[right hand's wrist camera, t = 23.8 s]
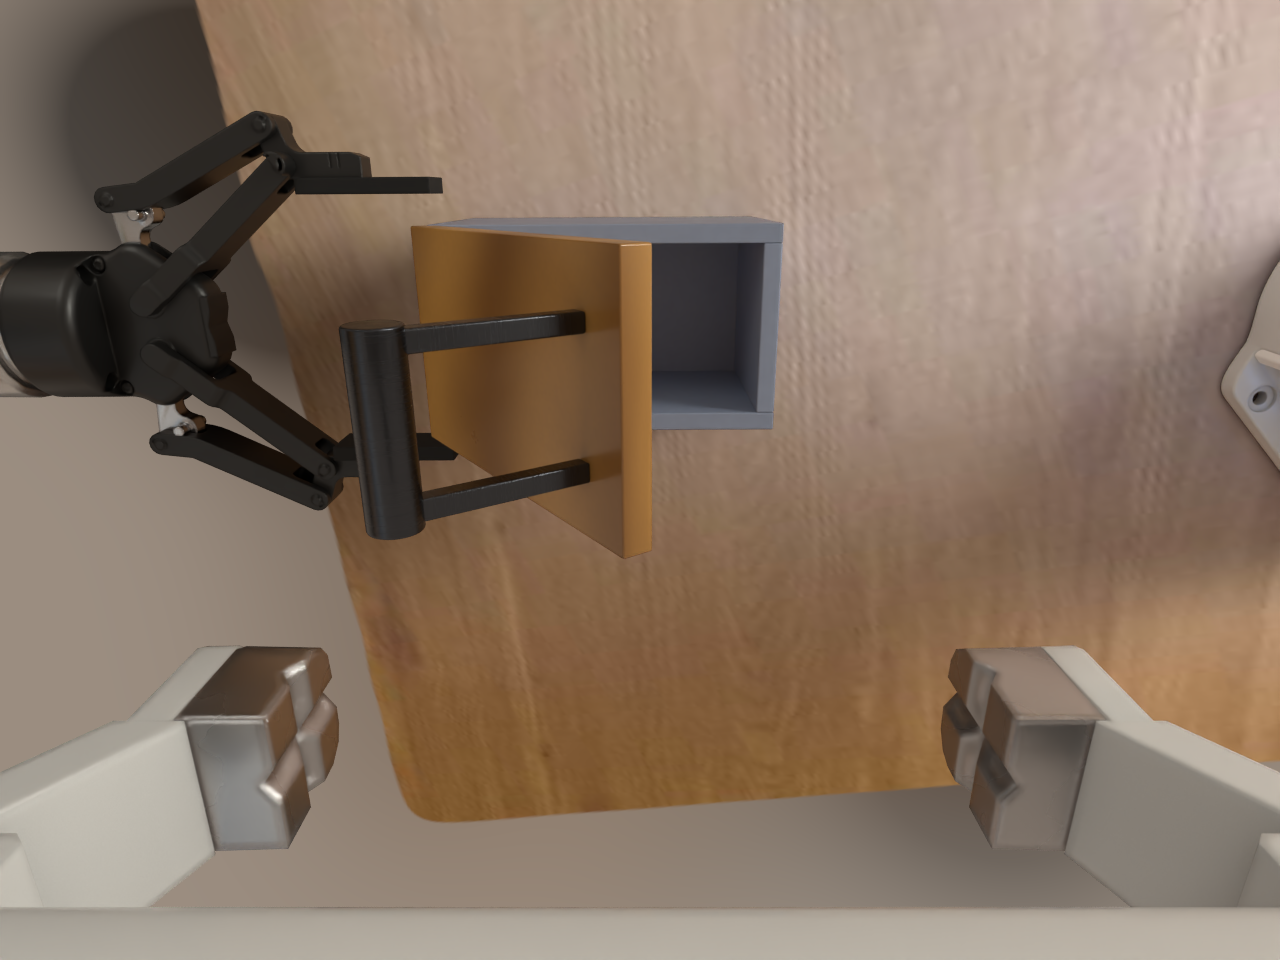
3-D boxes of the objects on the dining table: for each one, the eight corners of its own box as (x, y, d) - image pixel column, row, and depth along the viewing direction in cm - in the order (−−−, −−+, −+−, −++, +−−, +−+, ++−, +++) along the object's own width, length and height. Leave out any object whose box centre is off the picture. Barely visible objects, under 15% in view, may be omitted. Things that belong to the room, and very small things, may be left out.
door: (652, 242, 23) (355, 255, 18) (652, 551, 26) (401, 627, 21) (434, 225, 36) (230, 231, 31) (453, 433, 39) (271, 465, 34)
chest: (752, 216, 46) (783, 223, 36) (745, 381, 49) (772, 429, 39) (472, 218, 46) (426, 225, 36) (485, 382, 49) (445, 431, 39)
